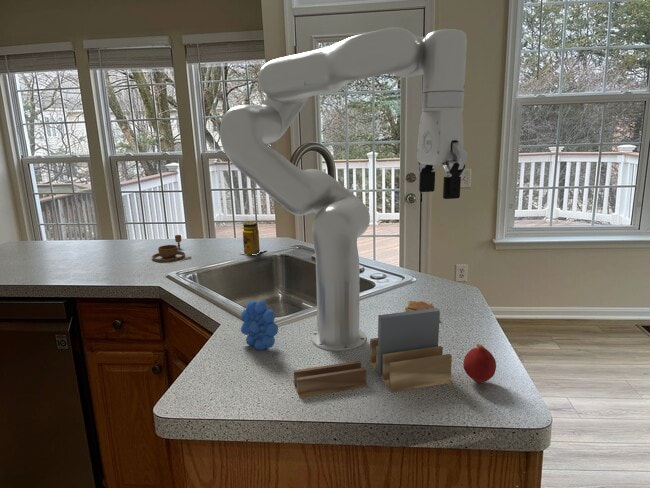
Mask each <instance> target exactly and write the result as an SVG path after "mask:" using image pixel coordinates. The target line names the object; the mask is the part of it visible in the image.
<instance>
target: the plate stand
mask: <svg viewBox="0 0 650 488" xmlns="http://www.w3.org/2000/svg"><path fill="white" fill-rule="evenodd" d="M292 382H293V385H294V388H295V390H296V393H297V396H298V398H299V399H300V398H301V399H302V398H307V397H314V396H319V395H320V396H321V395H326V394H331V393H338V392H344V391H350V390H357V389H363V388H368V387H369V385H368V384H367V369H366V367H362V362H361V361H360V360H354V361H348V362H341V363H340V362H339V363H334V364H327V365H322V366H321V365H320V366H315V367H307V368H301V369H295V370H293V380H292Z"/></svg>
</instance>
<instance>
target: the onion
mask: <svg viewBox="0 0 650 488" xmlns="http://www.w3.org/2000/svg"><path fill="white" fill-rule="evenodd" d="M462 364H463V370H464V372H465V373H466V375H467V376H468V377H469V378H470V379H471V380H473V382H475V383H476V384H482V383H485V382H488V381H489V380H491V379H492V378H493V377H494V375H495V373H496V371H497V362H496V359H495V357H494V355H493V354H492V353H491V351H489V350H488V349H487V348H485V347H484V346H483V344H481V343H477V344H476V347H474V348H472V349H470V350H469V351H468V352H467V353H466V354H465V356H464V359H463V363H462Z"/></svg>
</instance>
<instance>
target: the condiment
mask: <svg viewBox="0 0 650 488" xmlns="http://www.w3.org/2000/svg"><path fill="white" fill-rule="evenodd" d="M242 225H243V226H242V228H243V230H242V242H243V253H244V254H247V255H246V256H249V255H252V254H257V253H259V251H260V250H261V249H260V235H259V228H258V224H257V222H256V221H255V222H254V221H252V222H251V221H250V222H249V221H248V222H244V223H242Z"/></svg>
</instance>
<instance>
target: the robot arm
mask: <svg viewBox="0 0 650 488" xmlns="http://www.w3.org/2000/svg"><path fill="white" fill-rule="evenodd" d="M467 47H468V38H467V34H466V32H465V31H463V30H461V29H457V28H443V29H437V30H433V31H430V32H429V33H427V34H426V36H418V35H415V34H414V33H413V32H411V31H410V30H409V29H407V28H404V27H396V26H393V27H392V26H391V27H386V28H382V29H378V30H374V31H368V32H364V33H361V34H357V35H353V36H350V37H347V38H345V39H342V40H340V41H338V42H336V43H333V44H331V45H329V46H326V47H321V48H317V49H313V50H308V51H305V52H304V51H303V52H301V53H296V54H291V55H286V56H282V57H278V58H275V59H271V60H269V61H268V62H266V63H264V64H263V65H262V66H261V68H260V70H259V72H258V76H257V82H258V87H259V90H260V91H261V93H262V94H263V95H264V96H265V97H266V98H265V99H264V100H263V102H262V103H261V104H260V105H259V104H240V105H236V106H233V107H231V108H230V109H229V110H227V111H226V112H225V113H224V114H223V117H222V119H221V122H220V128H219V136H220V142H221V146H222V150H223V151H224V153H225V156H226V157H227V158H228V160H229V161H230V162H231V164H232V165H234V167H235V168H237V170H238V171H239V172H241V173H242V174H243V175H245V176H246V177H247V178H248V179H249V180H251V181H252V182H253V183H255V184H256V185H257V186H258V187H259V188H261V189H262V191H264V192H265V193H266V194H267V195H269V196H270V197H271V198H272V199H273V200H274V201H275V202H277V203H278V204H279V205H280V206H282V208H284V209H285V210H286V211H287V212H289V213H291V214H292V215H294V216H299V217H302V216H306V215H309V214H311V213H314V214H316V216H315V217H314V219H313V222H312V225H311V238H312V242H313V243H312V245H313V249H314V257H315V258H314V259H315V276H316V277H315V279H316V282H315V284H316V320H317V321H316V323H317V324H316V325H317V327H316V330H314V331H313V332H312V333H311V335H310V341H311V343H312V344H313V345H314V346H315V347H317V348H319V349H322V350H324V351H332V352H347V351H351V350H355V349H358V348H360V347H362V346H364V345H365V344H366V342H367V335H366V334H365V332H364V331H363V330H362V329H361V328H360V290H361V289H360V286H361V285H360V282H361V281H360V257H359V249H358V239H359V238H360V237H361V236H362V235H364V234H365V232H366V231H367V230H368V228H369V226H370V223H371V222H370V221H371V216H370V212H369V211H370V210H369V209H368V207H367V205H366V204H365V203H364V202H363V201H362V200H361V199H360V198H359V197H358V196H356V195H355V194H354V193H353V192H352V191H350V190H349V189H348V188H347V187H345V186H344V185H343V184H341V183H340V182H339V181H337V180H336V179H335V178H334V177H332V176H331V175H330V174H328V173H327V172H324V171H323V170H320V169H315V168H310V169H301V168H299V167H297V166H296V165H295V164H294V163H292V162H291V161H290V160H288V159H287V158H286V157H285V156H284V155H283V154H281V153H280V152H278V151H277V150H275V149H273V148H272V147H270V146H268V145H269V144H272V143H274V142H277V141H278V140H279V139H281V138H282V136H283V135H285V133H286V132H287V130H288V129H289V128H290V127H291V125H292V124H293V122H294V120H295V119H296V118H297V117H298V114H299V113H300V112H301V110H302V109H303V107H305V105H306V103H307V102H308V100H309V98H311V97H314V96H320V95H325V94H326V95H327V94H331V93H336V92H338V91H340V90H342V89H343V87H345V86H346V85H348V84H349V83H352V82H355V81H359V80H363V79H368V78H374V77H379V76H384V75H389V74H392V75H394V76H396V77H399V78H405V79H406V78H412V77H413V78H414V77H417V76H422V89H421V90H422V91H421V114H420V119H419V125H418V134H417V146H416V149H417V150H416V161H417V163H418V165H419V167H418V171H419V182H418V183H419V184H418V191H419V192H420V193H428V192H429V193H431V192H435V188H436V171H434V169H435V167H439V166H441V165H442V167H443V170H444V173H445V176H444V177H443V188H442V189H443V190H442V198H443V199H444V200H451V199H452V200H453V199H454V200H455V199H459V198H460V197H461V183H462V177H463V175H464V172H463V171H464V170H465V169H466V162H467V159H468V157H469V154H468V152H467V151H466V150H465V148H464V117H463V111H464V103H465V102H464V101H465V100H464V99H465V85H466V81H465V80H466V68H467V66H466V65H467V52H468V51H467V50H468V49H467ZM267 144H268V145H267Z"/></svg>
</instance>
